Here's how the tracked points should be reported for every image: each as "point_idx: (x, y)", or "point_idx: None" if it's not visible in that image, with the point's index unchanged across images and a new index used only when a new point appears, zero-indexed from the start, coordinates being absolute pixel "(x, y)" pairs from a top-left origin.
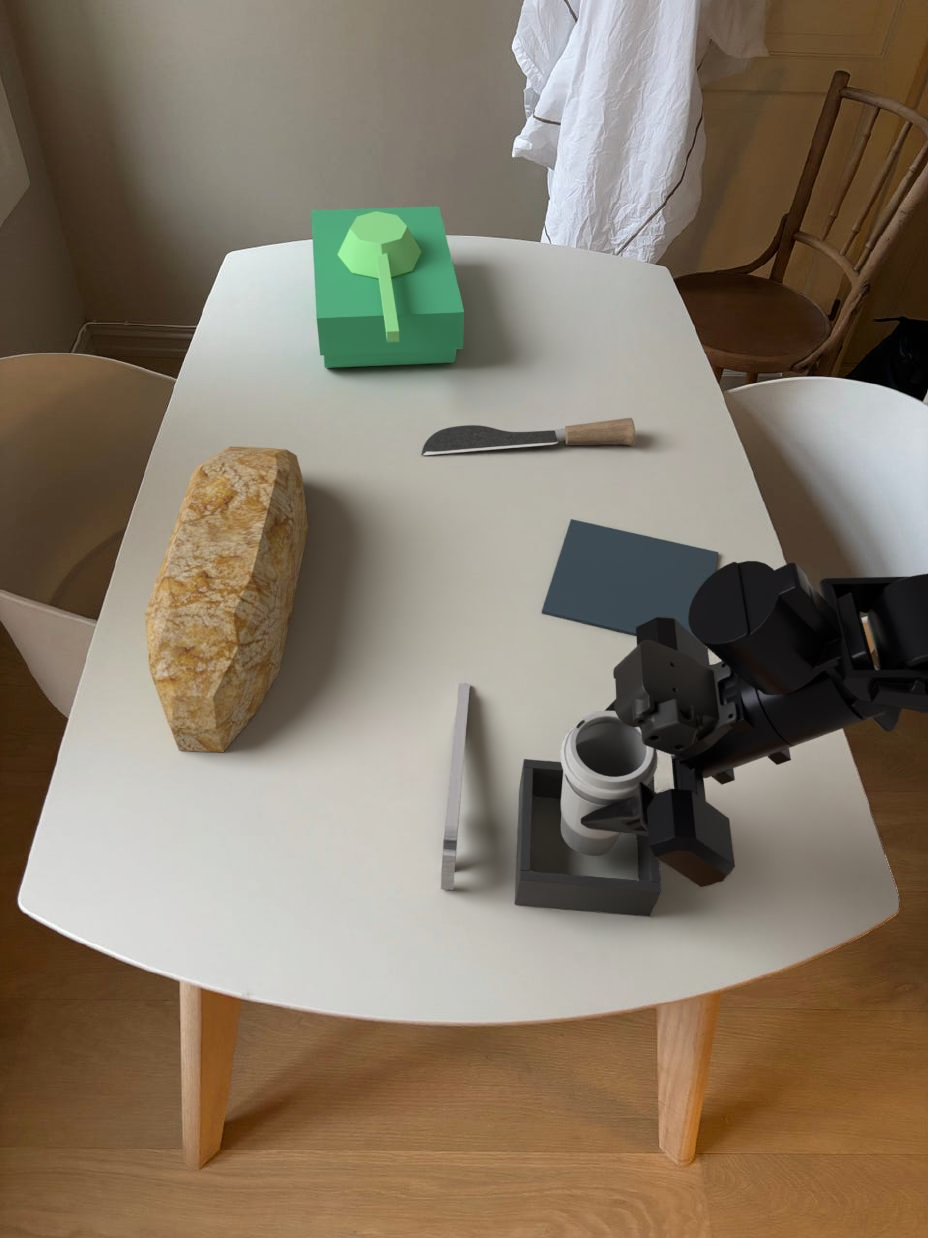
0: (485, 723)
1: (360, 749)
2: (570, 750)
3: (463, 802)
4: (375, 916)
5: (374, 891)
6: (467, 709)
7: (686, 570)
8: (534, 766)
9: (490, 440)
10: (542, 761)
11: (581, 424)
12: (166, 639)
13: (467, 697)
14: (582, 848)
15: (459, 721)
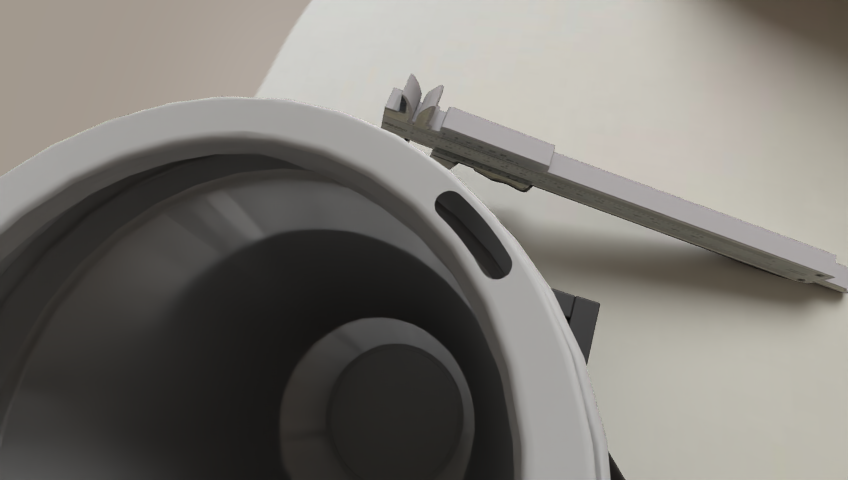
0: (734, 301)
1: (676, 84)
2: (269, 101)
3: (549, 218)
4: (387, 72)
5: (423, 75)
6: (769, 252)
7: None
8: (574, 321)
9: None
10: (587, 347)
11: None
12: None
13: (806, 263)
14: (333, 366)
15: (733, 225)
